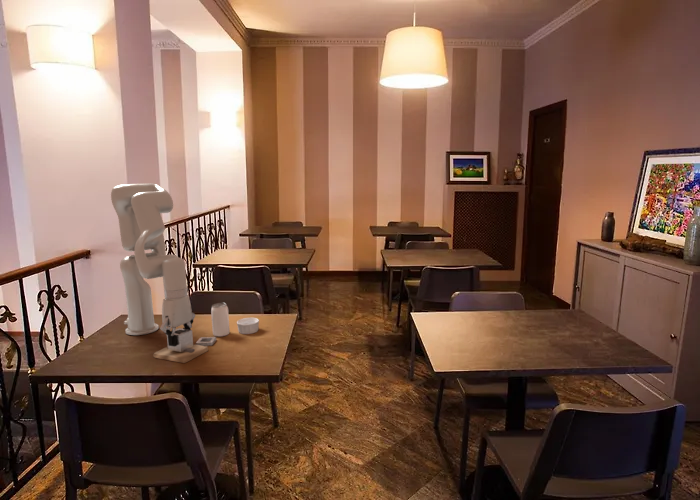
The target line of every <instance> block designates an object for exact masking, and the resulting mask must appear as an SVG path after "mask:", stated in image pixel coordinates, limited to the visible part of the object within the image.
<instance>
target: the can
mask: <svg viewBox="0 0 700 500" xmlns="http://www.w3.org/2000/svg"><path fill="white" fill-rule="evenodd" d="M210 313H211V326H212V327H211V328H212V335H213V337H216V338H217V337H220V338H221V337H226V336H228V335H229V334H230V331H231V330H230V317H229V307H228V305H227V303H226V302H217V303H214V304H213V303H212V305H211V311H210Z"/></svg>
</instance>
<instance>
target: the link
mask: <svg viewBox="0 0 700 500" xmlns="http://www.w3.org/2000/svg"><path fill="white" fill-rule="evenodd" d="M178 330H182V332H183V333H181V334H177V333H176V331H178ZM174 335H176V342H177V346H175V347H174V346H169V344H168V335H166V338H167V339H166V341H167V343H166V344H167V347H168V350H173V351H178V352H182V351H184V350H186V349H188V348H190V347H192V346H193V344H194V340H193V339H194V338H193V337H194V336H193V330H192V329H191V330H188V329H183V328H179V327H177V328H176V329H175V334H174Z"/></svg>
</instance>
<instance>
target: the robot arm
mask: <svg viewBox="0 0 700 500" xmlns="http://www.w3.org/2000/svg"><path fill="white" fill-rule="evenodd" d="M110 198H111V199H110V200H111V204H112V206H113V209H114V210H115V213H116V216H117V219H118V226H119V233H120V241H121V242H120V243H121V246H122V248H123V250H124V251H126V252H134V254H131V255H127V256H124V258H122V259H121V261H120V262H119V268H120V272H121V275H122V279H123V283H124V291H125V299H126V308H127V318H126V320H124V321H123V324H124V325H127V328H125V330H124V331H125V334H126V335H131V336H140V335H147V334H151V333H154V332H156V331H157V330H159V329H160V330H161V331H162V332H163V333H165V336H167V335H168V343H167V345H168V344H169V346H174V347H175V346H177V342H176V335H174V334H175V330H176V329H177V328H179V327H180V326H182V327H183V328H182V329H188V330H192V329H191V328H193V326H192V325H193V323H194V319H195V318H196V313H194V312H192V311H193V310H192V305H191V301H190V297H189V294H188V291H189V287H188V285H187V272H186V271H187V270H186V262H185V260H184V259H183V258H181V257H179V256H178V255H176V254H167V251H166V242H165V236H164V233H165V230H166V226H165V224H164V221H163V218H162V215H161V214H168V213H171V212H172V211H173V210H174V209H173V208H174V201H173V198H172V196H171V194H170V193H169V192H168V190H166V189H165V188H164V187H162V186H160V185H159V184H157V183H128V184H127V183H125V184H119V185H116V186H114V187H113V188H112V189H111V192H110ZM146 250H147V251H149V250H150V251H151V252H147V253H146V252H145V251H146ZM158 278H162V282H163V293H164V299H163V300H162V308H161V310H162V311H161V319H162V321H161V322H162V324H161V325H160V327H159V324H158V323H155V318H154V317H155V316H154V307H153V304H154V303H153V294H152V287H151V286H150V283H148V282H147V281H146V280H152V279H158Z"/></svg>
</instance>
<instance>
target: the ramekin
mask: <svg viewBox="0 0 700 500" xmlns="http://www.w3.org/2000/svg"><path fill="white" fill-rule="evenodd" d="M259 323H260V320H259V319H258V318H257V317H244V318H239V319H238V320H236V324H237V331H238V333H239V334H242V335H251V334H256V333H257V332H258V331H259Z"/></svg>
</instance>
